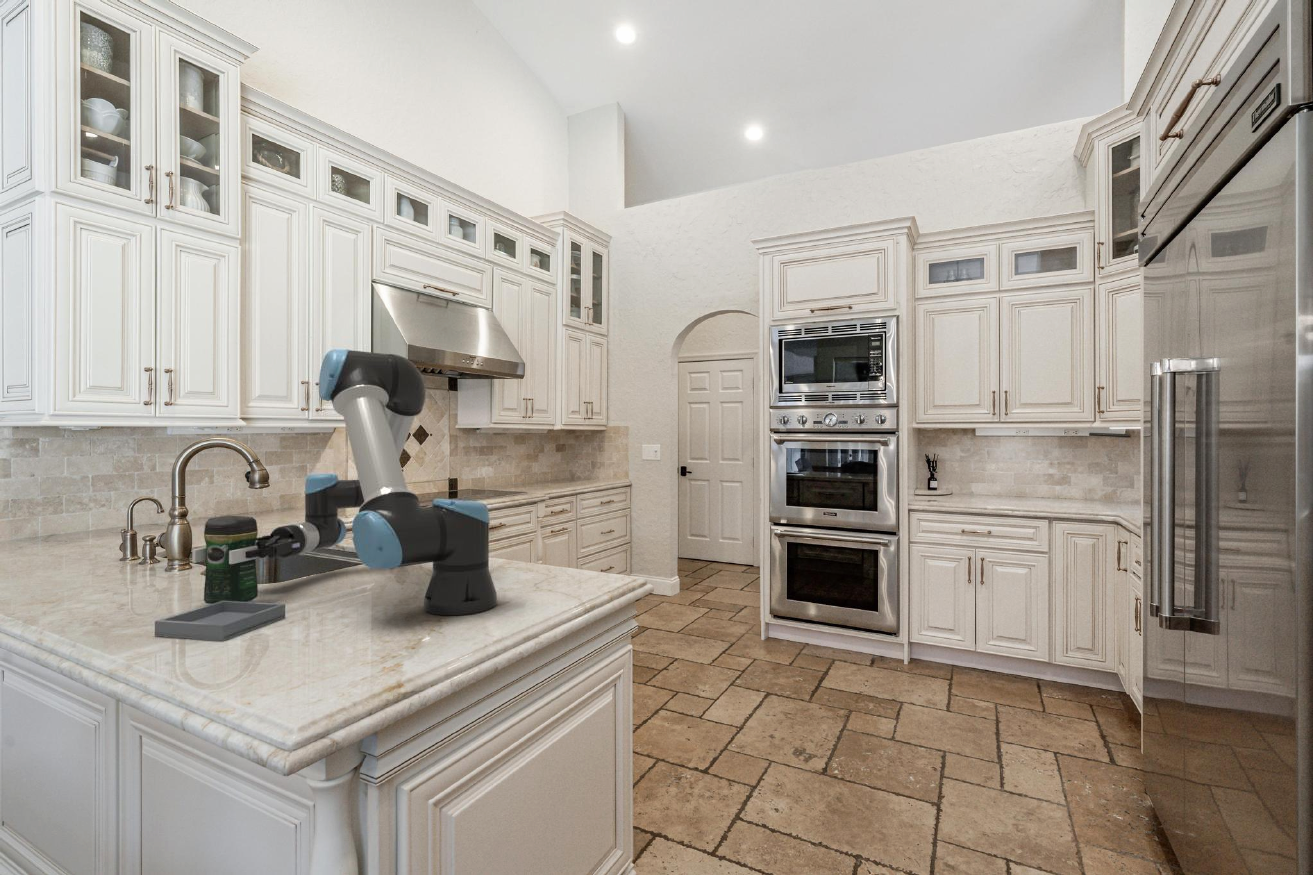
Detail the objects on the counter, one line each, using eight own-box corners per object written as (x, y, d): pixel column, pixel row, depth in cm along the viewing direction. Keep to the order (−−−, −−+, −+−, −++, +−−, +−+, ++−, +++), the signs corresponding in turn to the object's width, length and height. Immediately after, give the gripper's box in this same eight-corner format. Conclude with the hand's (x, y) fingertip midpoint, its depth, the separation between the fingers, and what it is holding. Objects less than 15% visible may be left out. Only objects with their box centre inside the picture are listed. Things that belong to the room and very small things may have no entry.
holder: (285, 617, 126) (285, 604, 126) (223, 641, 111) (223, 625, 111) (223, 614, 128) (223, 600, 128) (154, 636, 114) (154, 621, 114)
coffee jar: (265, 598, 137) (265, 514, 137) (233, 607, 130) (233, 518, 130) (229, 595, 140) (229, 513, 140) (195, 604, 132) (196, 517, 132)
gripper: (331, 556, 151) (255, 576, 128) (256, 553, 154) (169, 573, 132) (331, 525, 151) (255, 540, 128) (256, 523, 154) (169, 537, 132)
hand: (212, 556), depth 130 cm, fingers closed on coffee jar, 8 cm apart
